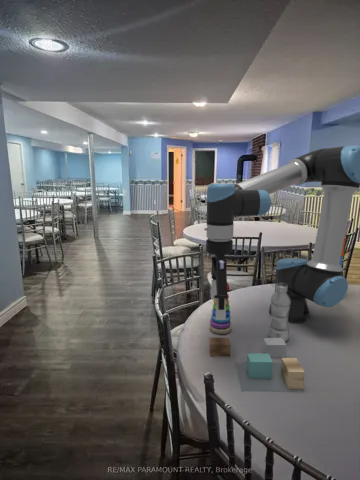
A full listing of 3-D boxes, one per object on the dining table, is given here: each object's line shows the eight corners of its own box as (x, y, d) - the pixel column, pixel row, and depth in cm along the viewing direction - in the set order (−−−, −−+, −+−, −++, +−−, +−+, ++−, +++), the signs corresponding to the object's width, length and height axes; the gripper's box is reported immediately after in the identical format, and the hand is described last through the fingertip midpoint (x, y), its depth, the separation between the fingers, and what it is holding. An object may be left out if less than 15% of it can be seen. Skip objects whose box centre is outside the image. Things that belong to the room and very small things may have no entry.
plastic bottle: (278, 347, 97) (282, 290, 93) (264, 338, 103) (267, 283, 99) (292, 342, 100) (297, 286, 96) (277, 333, 106) (281, 280, 102)
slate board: (288, 365, 88) (289, 363, 88) (304, 394, 76) (304, 391, 76) (234, 364, 89) (234, 362, 88) (241, 393, 77) (241, 390, 77)
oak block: (280, 373, 83) (281, 357, 82) (294, 374, 83) (296, 358, 82) (287, 388, 77) (288, 371, 76) (302, 389, 77) (304, 372, 76)
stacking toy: (231, 336, 105) (232, 285, 101) (208, 333, 106) (209, 284, 102) (231, 325, 112) (233, 278, 108) (210, 323, 114) (211, 276, 110)
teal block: (267, 369, 85) (268, 353, 84) (271, 378, 81) (272, 362, 80) (246, 369, 85) (247, 353, 84) (249, 378, 82) (250, 361, 81)
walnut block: (228, 351, 96) (228, 337, 95) (229, 359, 92) (230, 344, 91) (209, 351, 96) (209, 337, 95) (210, 359, 92) (210, 344, 91)
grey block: (281, 352, 95) (282, 338, 94) (285, 359, 91) (286, 345, 90) (262, 352, 95) (263, 337, 94) (265, 359, 91) (266, 344, 90)
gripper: (203, 231, 97) (202, 292, 101) (209, 249, 72) (208, 329, 77) (226, 230, 97) (225, 292, 101) (240, 249, 72) (237, 329, 77)
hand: (217, 308), depth 89 cm, fingers open, 13 cm apart
